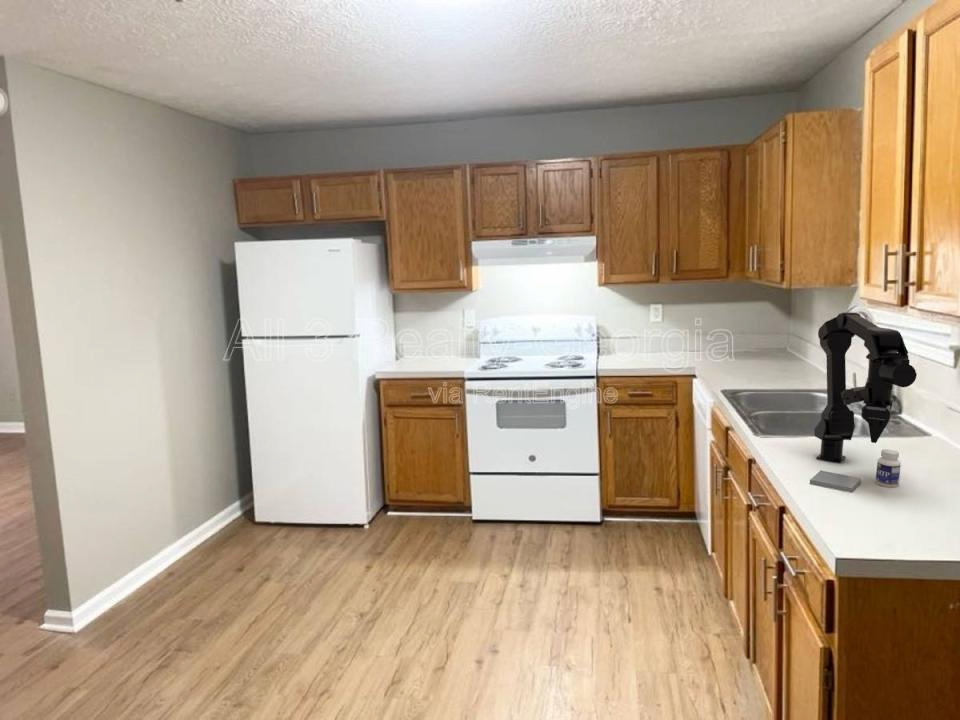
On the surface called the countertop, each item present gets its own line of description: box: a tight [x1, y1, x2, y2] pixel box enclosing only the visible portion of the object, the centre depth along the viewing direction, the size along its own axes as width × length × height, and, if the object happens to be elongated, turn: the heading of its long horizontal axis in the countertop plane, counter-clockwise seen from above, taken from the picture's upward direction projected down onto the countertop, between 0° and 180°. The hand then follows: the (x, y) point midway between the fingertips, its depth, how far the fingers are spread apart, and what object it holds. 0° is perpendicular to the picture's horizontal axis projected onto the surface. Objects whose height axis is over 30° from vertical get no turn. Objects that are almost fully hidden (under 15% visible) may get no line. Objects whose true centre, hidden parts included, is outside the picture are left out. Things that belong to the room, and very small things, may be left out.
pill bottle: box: [875, 448, 902, 488], centre depth 184 cm, size 5×5×9 cm
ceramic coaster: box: [809, 470, 862, 494], centre depth 186 cm, size 10×10×1 cm
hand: (874, 438), depth 183 cm, fingers open, 9 cm apart
